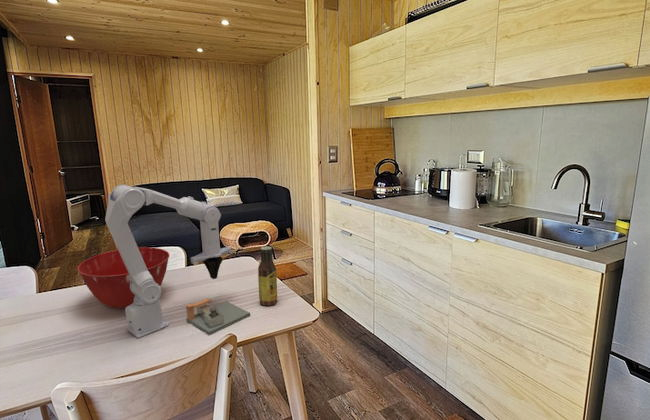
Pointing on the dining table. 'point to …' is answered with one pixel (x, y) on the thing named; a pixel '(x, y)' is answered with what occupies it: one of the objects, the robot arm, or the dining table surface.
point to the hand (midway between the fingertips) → (213, 277)
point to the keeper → (191, 307)
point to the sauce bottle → (267, 278)
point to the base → (230, 317)
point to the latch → (206, 314)
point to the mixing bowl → (119, 275)
